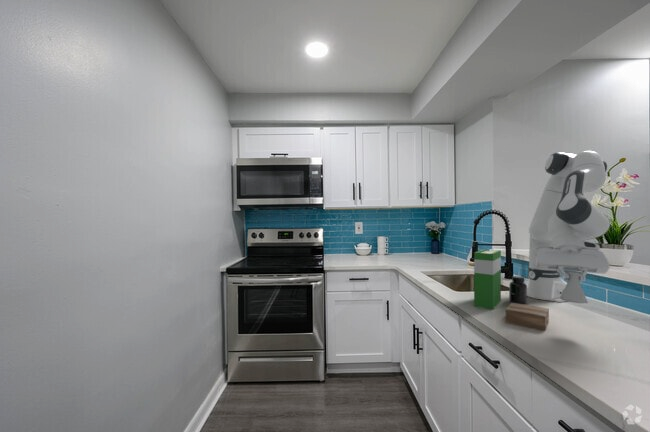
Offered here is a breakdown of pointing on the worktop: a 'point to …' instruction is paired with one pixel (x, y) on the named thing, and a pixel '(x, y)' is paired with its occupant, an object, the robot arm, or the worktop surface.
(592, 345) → the worktop surface
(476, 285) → the hardback book
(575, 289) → the flask
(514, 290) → the supplement bottle
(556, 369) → the worktop surface
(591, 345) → the worktop surface
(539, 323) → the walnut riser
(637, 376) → the worktop surface
